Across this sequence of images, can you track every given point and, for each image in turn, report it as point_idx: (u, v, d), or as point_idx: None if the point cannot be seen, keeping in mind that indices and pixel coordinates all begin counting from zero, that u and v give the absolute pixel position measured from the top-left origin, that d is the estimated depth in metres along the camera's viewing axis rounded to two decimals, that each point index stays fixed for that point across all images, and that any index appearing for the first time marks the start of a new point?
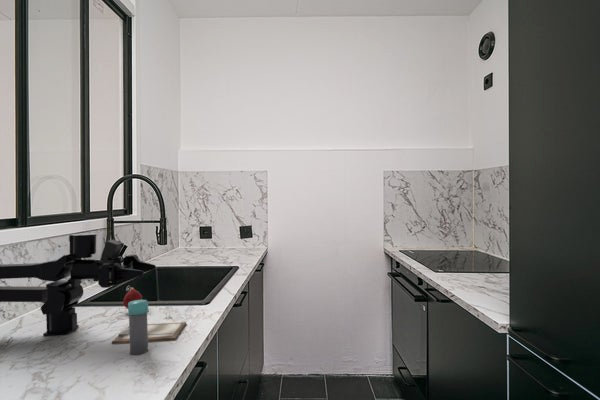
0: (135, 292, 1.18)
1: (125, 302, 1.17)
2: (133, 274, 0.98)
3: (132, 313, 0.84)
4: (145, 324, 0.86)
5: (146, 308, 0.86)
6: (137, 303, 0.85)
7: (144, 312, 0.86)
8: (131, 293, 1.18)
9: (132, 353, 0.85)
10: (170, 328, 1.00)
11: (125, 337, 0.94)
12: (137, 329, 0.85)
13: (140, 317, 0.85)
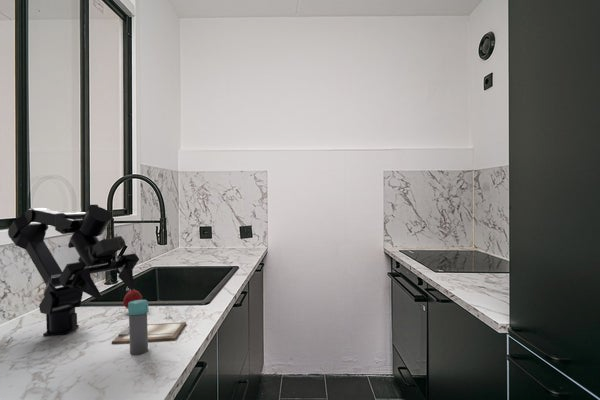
0: (135, 292, 1.18)
1: (125, 302, 1.17)
2: (91, 291, 0.86)
3: (132, 313, 0.84)
4: (145, 324, 0.86)
5: (146, 308, 0.86)
6: (137, 303, 0.85)
7: (144, 312, 0.86)
8: (131, 293, 1.18)
9: (132, 353, 0.85)
10: (170, 328, 1.00)
11: (125, 337, 0.94)
12: (137, 329, 0.85)
13: (140, 317, 0.85)
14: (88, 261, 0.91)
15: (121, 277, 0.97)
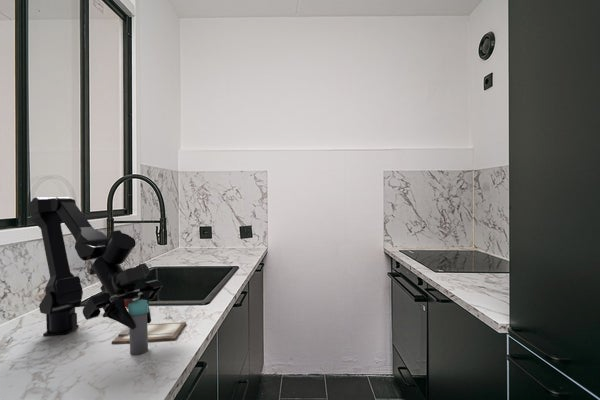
0: None
1: (125, 302, 1.17)
2: (125, 321, 0.84)
3: (132, 313, 0.84)
4: (145, 324, 0.86)
5: (146, 308, 0.86)
6: (137, 303, 0.85)
7: (144, 312, 0.86)
8: None
9: (132, 353, 0.85)
10: (170, 328, 1.00)
11: (125, 337, 0.94)
12: (137, 329, 0.85)
13: (140, 317, 0.85)
14: (111, 291, 0.87)
15: None
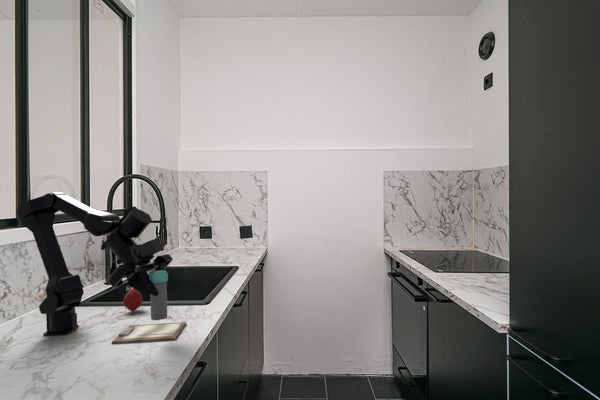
0: (135, 292, 1.18)
1: (125, 302, 1.17)
2: (149, 289, 0.90)
3: (155, 281, 0.91)
4: (166, 292, 0.93)
5: (166, 277, 0.94)
6: (159, 272, 0.92)
7: (165, 280, 0.93)
8: (131, 293, 1.18)
9: (154, 319, 0.91)
10: (170, 328, 1.00)
11: (125, 337, 0.94)
12: (159, 296, 0.92)
13: (162, 285, 0.92)
14: (131, 262, 0.92)
15: None
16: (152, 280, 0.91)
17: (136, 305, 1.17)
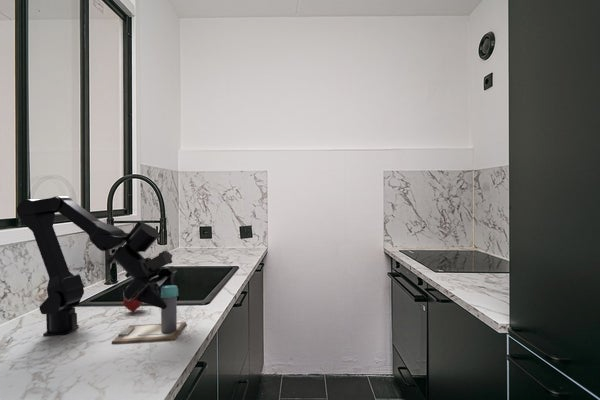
0: None
1: (125, 302, 1.17)
2: (157, 303, 0.93)
3: (167, 296, 0.96)
4: (176, 306, 0.98)
5: (177, 292, 0.99)
6: (170, 287, 0.97)
7: (176, 295, 0.98)
8: None
9: (165, 332, 0.96)
10: None
11: (125, 337, 0.94)
12: (171, 310, 0.96)
13: (173, 299, 0.97)
14: (141, 276, 0.96)
15: None
16: (164, 295, 0.96)
17: (136, 305, 1.17)
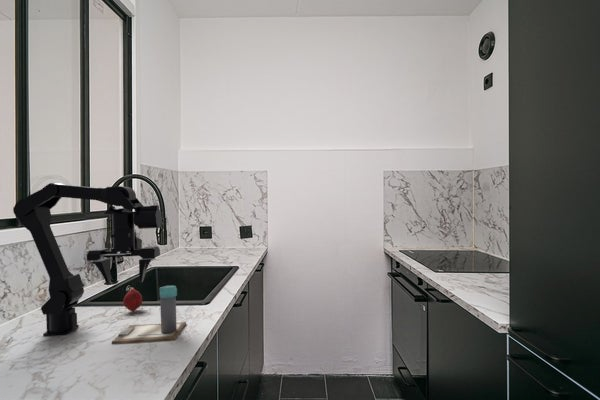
0: (135, 292, 1.18)
1: (125, 302, 1.17)
2: (144, 274, 1.04)
3: (166, 296, 0.96)
4: (175, 306, 0.98)
5: (176, 292, 0.98)
6: (169, 288, 0.97)
7: (175, 295, 0.98)
8: (131, 293, 1.18)
9: (165, 332, 0.96)
10: None
11: (125, 337, 0.94)
12: (170, 310, 0.96)
13: (172, 300, 0.97)
14: (134, 244, 1.05)
15: (103, 265, 1.01)
16: (163, 295, 0.96)
17: (136, 305, 1.17)
